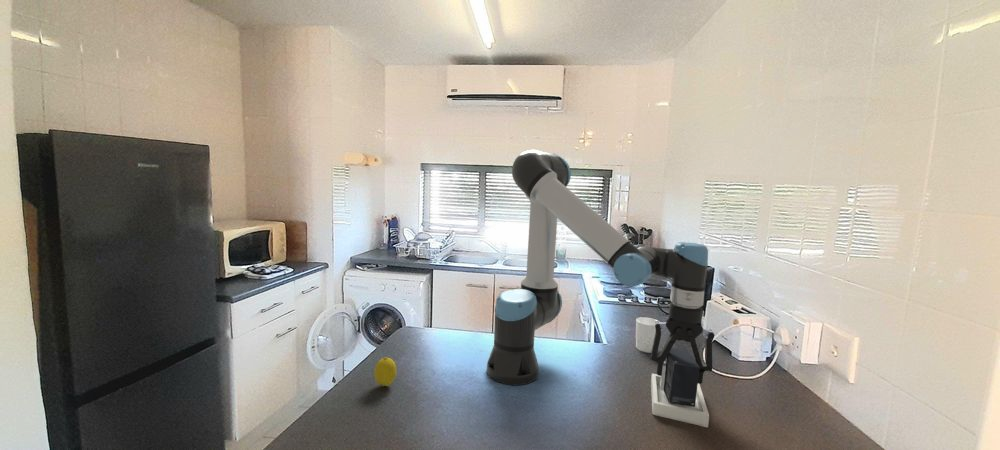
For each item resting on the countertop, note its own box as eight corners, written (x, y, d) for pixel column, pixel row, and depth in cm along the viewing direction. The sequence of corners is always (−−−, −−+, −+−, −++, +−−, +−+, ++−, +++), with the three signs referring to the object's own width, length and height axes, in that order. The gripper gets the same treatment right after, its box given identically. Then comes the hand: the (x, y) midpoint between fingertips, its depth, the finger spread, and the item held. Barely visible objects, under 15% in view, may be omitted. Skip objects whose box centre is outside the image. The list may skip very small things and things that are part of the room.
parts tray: (652, 414, 91) (653, 402, 90) (650, 383, 105) (651, 373, 105) (707, 427, 86) (709, 415, 86) (698, 393, 101) (699, 382, 101)
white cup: (661, 354, 125) (664, 325, 124) (638, 353, 125) (641, 324, 124) (652, 344, 133) (655, 317, 132) (630, 343, 133) (633, 316, 132)
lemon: (370, 386, 98) (370, 356, 97) (389, 378, 102) (389, 350, 101) (381, 394, 94) (381, 364, 93) (400, 386, 98) (400, 357, 97)
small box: (697, 408, 90) (701, 367, 89) (668, 403, 91) (672, 363, 90) (685, 386, 100) (688, 348, 99) (659, 382, 102) (663, 345, 100)
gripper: (644, 302, 93) (636, 388, 96) (734, 315, 86) (724, 408, 89) (644, 294, 100) (637, 375, 103) (727, 306, 93) (718, 392, 96)
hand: (677, 390), depth 96 cm, fingers closed on small box, 7 cm apart
